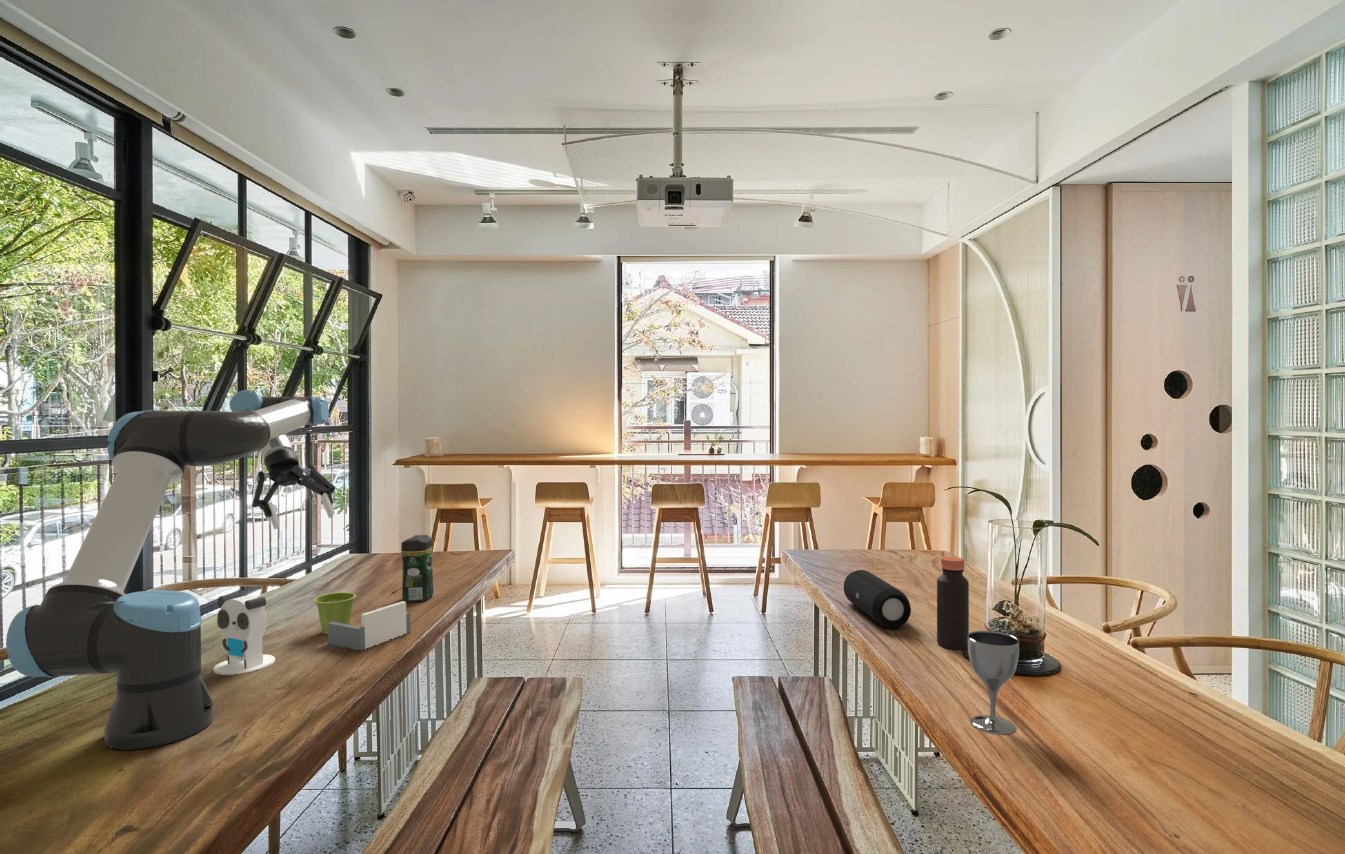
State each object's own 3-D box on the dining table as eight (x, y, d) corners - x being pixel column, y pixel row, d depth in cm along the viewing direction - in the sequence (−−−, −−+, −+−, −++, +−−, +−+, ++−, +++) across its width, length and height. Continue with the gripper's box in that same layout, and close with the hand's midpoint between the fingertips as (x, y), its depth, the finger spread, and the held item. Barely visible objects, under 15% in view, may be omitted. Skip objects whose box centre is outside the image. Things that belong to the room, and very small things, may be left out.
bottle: (969, 642, 157) (969, 557, 157) (968, 651, 151) (968, 563, 151) (937, 638, 160) (937, 554, 160) (936, 647, 154) (935, 560, 154)
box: (360, 650, 155) (360, 616, 155) (328, 644, 160) (327, 610, 160) (410, 632, 168) (409, 600, 168) (378, 626, 173) (378, 595, 173)
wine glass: (975, 710, 121) (975, 627, 121) (1023, 722, 116) (1023, 636, 116) (961, 726, 115) (961, 639, 115) (1012, 740, 110) (1012, 649, 110)
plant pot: (363, 625, 174) (363, 592, 173) (342, 638, 164) (341, 602, 164) (329, 625, 174) (329, 591, 174) (306, 637, 165) (305, 601, 165)
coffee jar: (410, 594, 204) (409, 533, 204) (436, 594, 204) (435, 533, 204) (398, 603, 194) (397, 539, 194) (425, 602, 195) (424, 538, 194)
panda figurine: (200, 669, 144) (198, 599, 144) (252, 652, 155) (251, 587, 154) (234, 678, 139) (232, 606, 139) (286, 660, 149) (285, 593, 149)
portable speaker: (840, 603, 191) (840, 568, 191) (874, 602, 192) (874, 567, 192) (876, 632, 166) (875, 591, 166) (914, 630, 167) (914, 590, 167)
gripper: (322, 457, 195) (349, 518, 188) (223, 470, 177) (249, 538, 169) (329, 442, 191) (357, 503, 184) (229, 454, 172) (255, 523, 165)
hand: (305, 520), depth 177 cm, fingers open, 13 cm apart
